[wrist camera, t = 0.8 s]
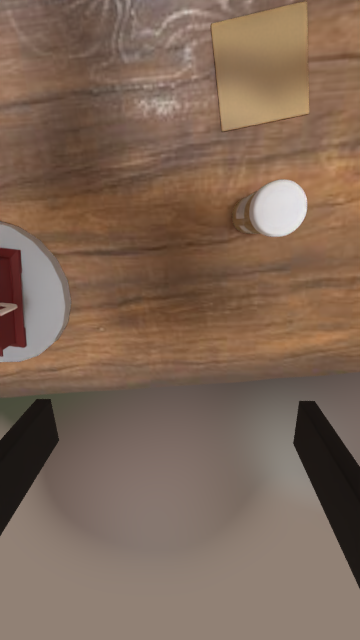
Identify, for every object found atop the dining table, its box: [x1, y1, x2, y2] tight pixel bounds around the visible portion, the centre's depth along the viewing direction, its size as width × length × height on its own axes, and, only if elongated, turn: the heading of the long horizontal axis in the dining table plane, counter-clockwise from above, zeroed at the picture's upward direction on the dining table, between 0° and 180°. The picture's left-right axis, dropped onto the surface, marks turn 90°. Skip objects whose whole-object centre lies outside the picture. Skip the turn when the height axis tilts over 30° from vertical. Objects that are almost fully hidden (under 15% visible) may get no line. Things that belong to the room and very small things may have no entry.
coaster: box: [211, 1, 309, 132], centre depth 31 cm, size 10×10×1 cm
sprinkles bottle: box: [232, 179, 307, 237], centre depth 29 cm, size 5×5×14 cm
